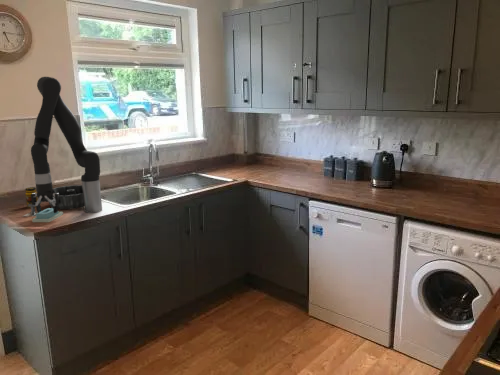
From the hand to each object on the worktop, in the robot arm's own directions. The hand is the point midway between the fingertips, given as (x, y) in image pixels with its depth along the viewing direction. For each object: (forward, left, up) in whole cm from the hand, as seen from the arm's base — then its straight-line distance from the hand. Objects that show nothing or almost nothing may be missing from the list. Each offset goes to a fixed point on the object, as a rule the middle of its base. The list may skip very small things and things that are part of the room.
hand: (47, 212), depth 214 cm
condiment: (-23, -22, -4) cm, 32 cm away
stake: (-7, -12, -4) cm, 15 cm away
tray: (0, 0, -4) cm, 4 cm away
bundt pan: (-27, -1, -4) cm, 27 cm away
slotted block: (0, 0, -3) cm, 3 cm away
